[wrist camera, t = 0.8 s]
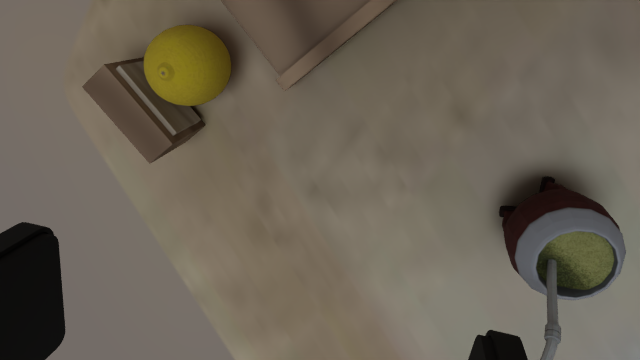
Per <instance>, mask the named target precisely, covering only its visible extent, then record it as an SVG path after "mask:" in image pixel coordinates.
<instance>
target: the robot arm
mask: <svg viewBox="0 0 640 360" xmlns="http://www.w3.org/2000/svg"><path fill="white" fill-rule="evenodd" d="M64 335H65V320H64V308H63V294H62V281H61V268H60V256H59V242H58V239H57V237H56V236H54V234H53V232H52V230H51V229H50V228H47V227H44V226H40V225H35V224H30V223H26V222H25V223H24V222H22V223H19V224H17V225H15V226H13V227H11V228H10V229H8V230H6V231H4V232H2V233H1V234H0V360H45V359H46V358H47V357H48V356H49V355H50V354H51V353H53V352H54V351H55V350H56V349H57V348H58V346H59V345H60V344H61V342H62V340H63V338H64ZM468 360H528V359H527V356H526V353H525V350H524V347H523V344H522V341H521V339H520V337H518V336H515V335H510V334H506V333H502V332H497V331H493V330H489V331H488V332H487V333H486V336H482V335H477V337H476V339H475V341H474V344H473V347H472V350H471V353H470V356H469V359H468Z"/></svg>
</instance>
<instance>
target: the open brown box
mask: <svg viewBox="0 0 640 360" xmlns="http://www.w3.org/2000/svg"><path fill="white" fill-rule="evenodd" d="M82 87H83V88H84V89H85V91H86V92H87V93H88V94H89V95H90V96H91V97H92V98H93V100H94V101H95V102H96V103H97V104H98V105H99V106H100V108H101V109H102V110H103V111H104V112H105V113H106V114H107V116H108V117H109V118H110V119H111V120H112V121H113V122H114V123H115V125H116V126H117V127H118V128H119V129H120V130H121V131H122V133H123V134H124V135H125V136H126V137H127V138H128V139H129V141H130V142H131V143H132V144H133V145H134V146H135V147H136V149H137V150H138V151H139V152H140V153H141V154H142V155H143V156H144V158H145V159H146V160H147V161H148V162H149V163H152V162H154V161H155V160H157V159H159V158H160V157H162V156H163V155H165V154H167V153H168V152H170V151H172V150H173V149H175V148H177V147H178V146H180V145H182V144H183V143H185V142H186V141H187V140H189V139H190V138H191V137H192V136H193V135H195V134H196V133H197V132H198V131H199V130H200V129H202V128H203V127H204V126H205V124H204V123H203V121H202V120H201V119H200V118H199V116H198V115H197V114H196V113H195V112H194V111H193V109H192V108H191V107H190V106H184V105H177V104H174V103H171V102H168V101H166V100H164V99H163V98H161V97H160V96H158V95H157V94H156V92H155V91H154V90H153V89H152V88H151V86H150V85H149V83H148V81H147V79H146V76H145V73H144V58H138V59H132V60H127V61H121V62H115V63H110V64H104V65H103V66H102V67H101V68H100V69H99V70H98V71H97V72H96V73H95V74H94V75H93V76H92V77H91V78H90V79H89V80H88V81H87V82H86V83H85V84H84V85H83V86H82Z"/></svg>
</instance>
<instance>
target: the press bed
mask: <svg viewBox="0 0 640 360" xmlns="http://www.w3.org/2000/svg"><path fill="white" fill-rule="evenodd" d="M221 1H222V3H223V4H224V5H225V6H226V8H227V9H228V10H229V11H230V13H231V14H232V15H233V17H234V18H235V19H236V20H237V22H238V23H239V24H240V25H241V27H242V28H243V29H244V31H245V32H246V33H247V34H248V36H249V37H250V38H251V40H252V41H253V42H254V43H255V45H256V46H257V47H258V48H259V50H260V51H261V52H262V54H263V55H264V56H265V57H266V59H267V60H268V61H269V62H270V64H271V65H272V66H273V68H274V69H275V70H276V71H277V73H278V74H279V75H280V77H279V78H278V79H276V81H277V82H278V84H279V85H280V86H281V87H282V89H283V90H284V91H285V90H287V89H288V88H290V87H291V86H293V85H294V84H295V83H296V82H298V81H299V80H300V79H301V78H303V77H304V76H305V75H306V74H307V73H309V72H310V71H311V70H312V69H314V68H315V67H316V66H317V65H318V64H320V63H321V62H322V61H323V60H325V59H326V58H327V57H328V56H329V55H331V54H332V53H333V52H334V51H336V50H337V49H338V48H339V47H340V46H342V45H343V44H344V43H345V42H347V41H348V40H349V39H350V38H351V37H353V36H354V35H355V34H356V33H358V32H359V31H360V30H361V29H362V28H364V27H365V26H366V25H367V24H369V23H370V22H371V21H372V20H373V19H375V18H376V17H377V16H378V15H380V14H381V13H382V12H383V11H384V10H386V9H387V8H388V7H389V6H391V5H392V4H393V3H394V2H396V1H397V0H221Z"/></svg>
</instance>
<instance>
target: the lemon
mask: <svg viewBox="0 0 640 360" xmlns="http://www.w3.org/2000/svg"><path fill="white" fill-rule="evenodd" d="M144 73H145V76H146V79H147V81H148V83H149V85H150V86H151V88H152V89H153V90H154V91H155V92H156V94H157V95H158V96H160V97H161V98H163V99H164V100H166V101H168V102H171V103H174V104H177V105H184V106H194V105H200V104H204V103H206V102H208V101H210V100H212V99H214V98H215V97H216V96H218V95H219V94H220V93H221V92H222V91H223V89H224V88H225V86H226V85H227V83H228V81H229V77H230V74H231V60H230V55H229V53H228V50H227V48H226V46H225V45H224V43H223V42H222V41H221V39H220V38H218V37H217V36H216V35H215V34H214V33H212V32H211V31H209V30H207V29H205V28H202V27H198V26H194V25H179V26H175V27H172V28H170V29H167V30H165V31H163V32H162V33H160V34H159V35H158V36H156V37H155V38H154V39H153V40H152V42H151V43H150V45H149V46H148V48H147V50H146V53H145V56H144Z"/></svg>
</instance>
